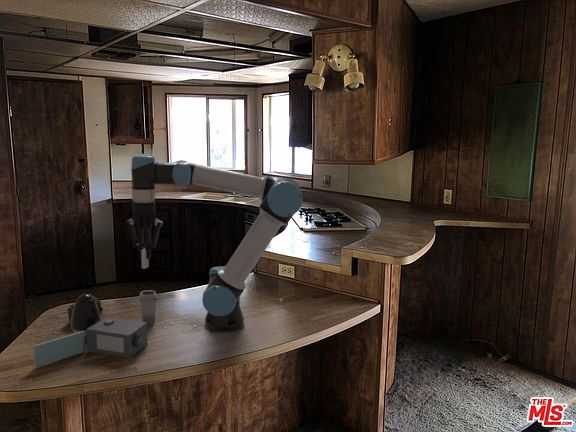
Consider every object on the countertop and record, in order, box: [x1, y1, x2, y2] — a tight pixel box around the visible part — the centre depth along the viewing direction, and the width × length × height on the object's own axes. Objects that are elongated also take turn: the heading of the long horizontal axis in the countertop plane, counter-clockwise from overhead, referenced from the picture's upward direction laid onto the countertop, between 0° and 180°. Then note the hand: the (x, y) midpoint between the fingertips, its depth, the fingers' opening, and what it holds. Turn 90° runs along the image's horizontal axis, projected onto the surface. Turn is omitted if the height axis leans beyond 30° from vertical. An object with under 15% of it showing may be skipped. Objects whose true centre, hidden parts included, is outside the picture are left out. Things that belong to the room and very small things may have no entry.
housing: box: [86, 316, 149, 359], centre depth 156 cm, size 18×11×9 cm, turn 76°
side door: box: [33, 331, 86, 368], centre depth 147 cm, size 16×2×7 cm, turn 139°
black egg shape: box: [70, 293, 102, 338], centre depth 165 cm, size 10×10×15 cm
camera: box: [67, 293, 104, 325], centre depth 179 cm, size 13×10×10 cm
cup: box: [138, 289, 158, 325], centre depth 178 cm, size 7×7×12 cm
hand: (145, 267), depth 161 cm, fingers closed
